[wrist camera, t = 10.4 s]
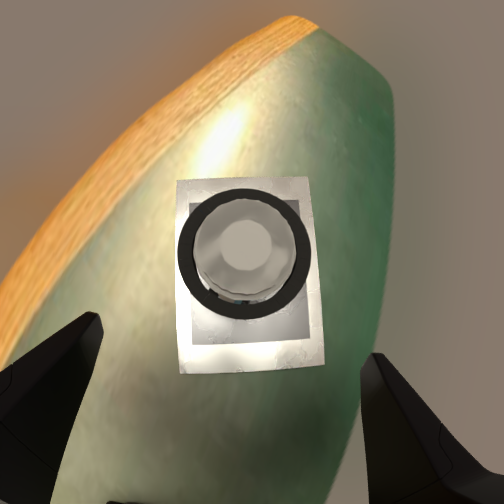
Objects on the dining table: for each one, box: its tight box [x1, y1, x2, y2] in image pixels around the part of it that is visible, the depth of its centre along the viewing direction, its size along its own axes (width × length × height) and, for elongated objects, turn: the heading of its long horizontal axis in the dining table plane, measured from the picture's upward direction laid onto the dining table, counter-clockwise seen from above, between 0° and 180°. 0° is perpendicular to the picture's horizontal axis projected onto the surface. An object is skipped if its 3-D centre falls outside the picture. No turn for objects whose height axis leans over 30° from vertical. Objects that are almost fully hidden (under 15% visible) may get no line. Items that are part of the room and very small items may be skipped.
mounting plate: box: [175, 177, 325, 374], centre depth 22 cm, size 14×10×1 cm
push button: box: [177, 188, 311, 320], centre depth 16 cm, size 7×5×10 cm
